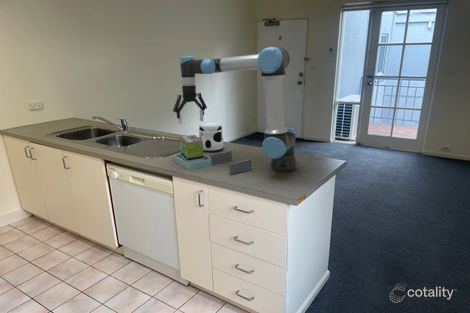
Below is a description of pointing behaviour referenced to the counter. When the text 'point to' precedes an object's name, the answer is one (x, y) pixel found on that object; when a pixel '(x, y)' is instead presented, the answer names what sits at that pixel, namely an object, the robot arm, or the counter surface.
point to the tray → (194, 165)
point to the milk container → (211, 136)
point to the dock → (233, 167)
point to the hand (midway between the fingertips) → (191, 122)
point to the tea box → (191, 148)
